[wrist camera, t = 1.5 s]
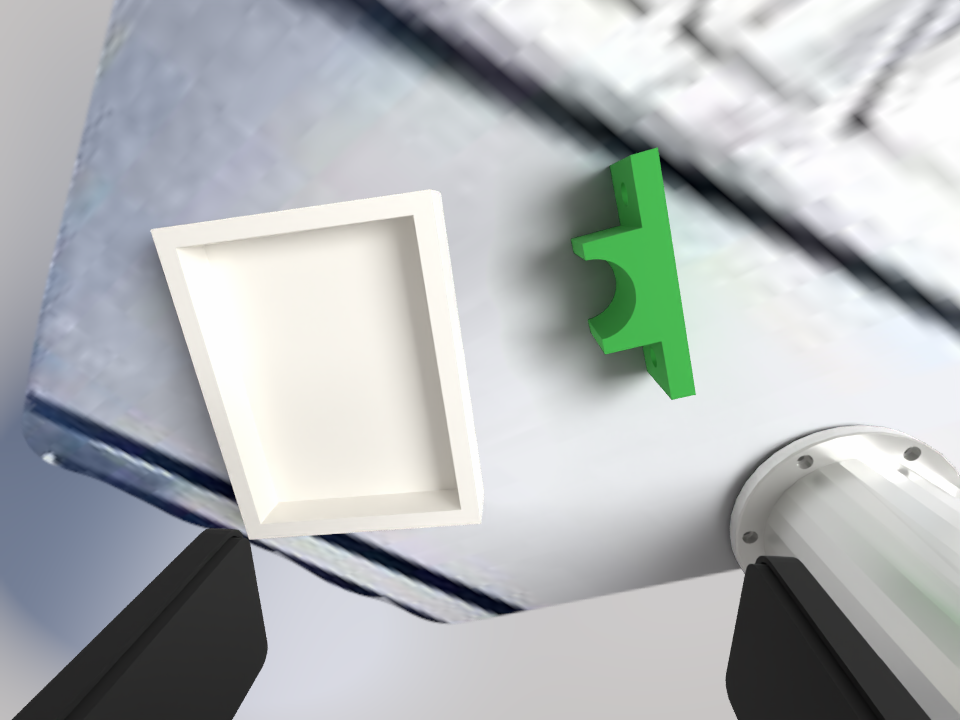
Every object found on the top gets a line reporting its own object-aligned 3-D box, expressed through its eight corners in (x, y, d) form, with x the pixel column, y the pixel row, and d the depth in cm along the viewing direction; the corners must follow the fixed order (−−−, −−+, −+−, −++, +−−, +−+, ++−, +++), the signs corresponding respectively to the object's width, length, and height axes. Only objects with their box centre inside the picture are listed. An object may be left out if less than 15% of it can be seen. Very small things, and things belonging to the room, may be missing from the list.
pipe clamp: (557, 181, 24) (567, 172, 20) (630, 159, 24) (657, 145, 19) (600, 381, 27) (617, 413, 23) (666, 366, 26) (697, 395, 22)
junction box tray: (440, 192, 24) (430, 189, 22) (484, 493, 30) (481, 523, 27) (190, 227, 26) (150, 229, 23) (273, 509, 31) (249, 539, 28)
